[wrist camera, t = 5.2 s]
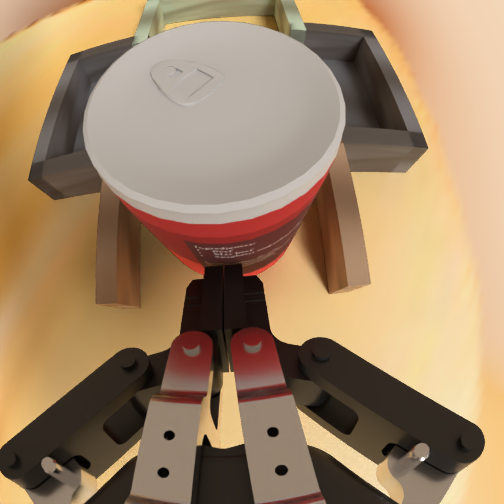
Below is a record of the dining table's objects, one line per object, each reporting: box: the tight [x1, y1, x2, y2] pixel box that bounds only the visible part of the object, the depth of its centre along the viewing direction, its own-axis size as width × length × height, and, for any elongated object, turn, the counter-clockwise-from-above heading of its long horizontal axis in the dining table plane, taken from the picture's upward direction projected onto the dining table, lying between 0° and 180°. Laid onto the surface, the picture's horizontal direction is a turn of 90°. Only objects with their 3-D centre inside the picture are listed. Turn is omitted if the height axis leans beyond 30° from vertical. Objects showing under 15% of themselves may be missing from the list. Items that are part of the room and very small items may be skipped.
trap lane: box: [28, 0, 428, 308], centre depth 18 cm, size 28×25×4 cm
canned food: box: [83, 21, 345, 276], centre depth 13 cm, size 8×8×11 cm
